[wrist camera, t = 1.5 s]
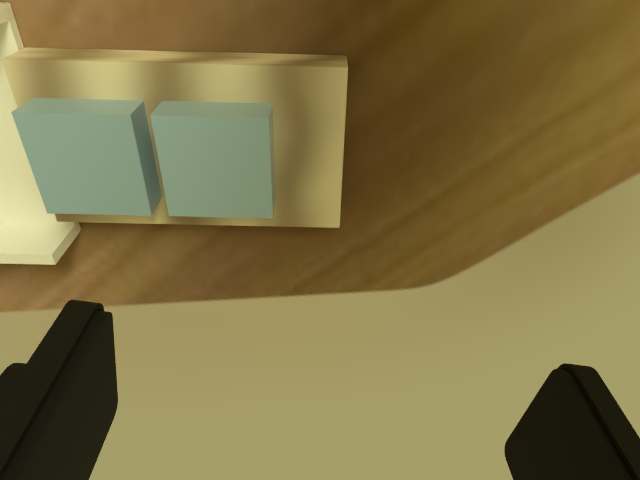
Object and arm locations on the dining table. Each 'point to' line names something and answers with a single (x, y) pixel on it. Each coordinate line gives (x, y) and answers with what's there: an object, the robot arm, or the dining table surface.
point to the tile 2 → (216, 158)
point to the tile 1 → (90, 155)
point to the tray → (22, 179)
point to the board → (215, 86)
